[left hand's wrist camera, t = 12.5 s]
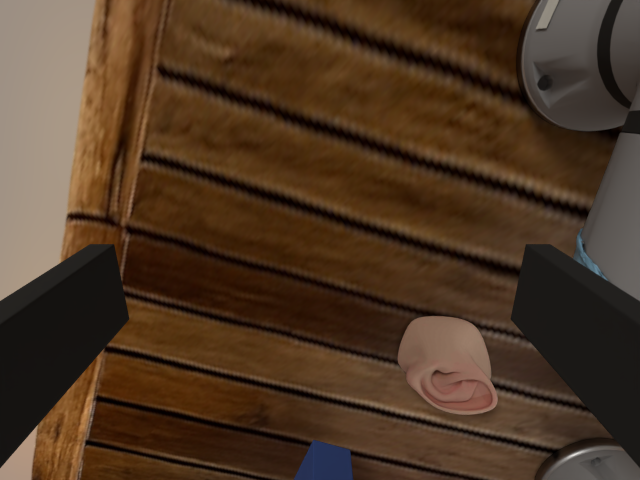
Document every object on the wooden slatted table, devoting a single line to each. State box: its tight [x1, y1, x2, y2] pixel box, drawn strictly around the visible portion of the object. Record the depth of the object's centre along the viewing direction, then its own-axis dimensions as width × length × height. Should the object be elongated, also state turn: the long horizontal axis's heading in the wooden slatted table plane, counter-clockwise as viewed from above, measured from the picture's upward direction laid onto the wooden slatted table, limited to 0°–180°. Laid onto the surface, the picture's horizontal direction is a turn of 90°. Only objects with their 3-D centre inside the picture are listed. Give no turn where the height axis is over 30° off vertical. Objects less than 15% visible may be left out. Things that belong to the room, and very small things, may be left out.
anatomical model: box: [398, 316, 498, 415], centre depth 46 cm, size 13×4×12 cm
